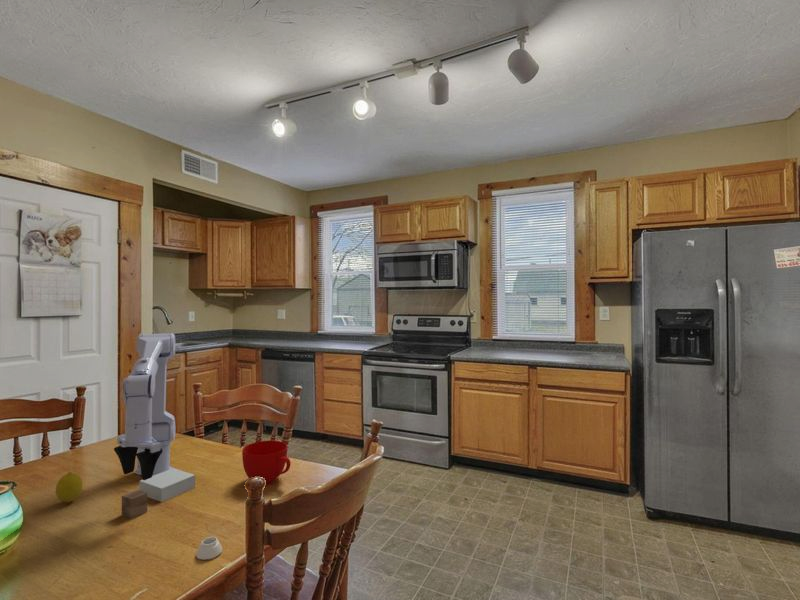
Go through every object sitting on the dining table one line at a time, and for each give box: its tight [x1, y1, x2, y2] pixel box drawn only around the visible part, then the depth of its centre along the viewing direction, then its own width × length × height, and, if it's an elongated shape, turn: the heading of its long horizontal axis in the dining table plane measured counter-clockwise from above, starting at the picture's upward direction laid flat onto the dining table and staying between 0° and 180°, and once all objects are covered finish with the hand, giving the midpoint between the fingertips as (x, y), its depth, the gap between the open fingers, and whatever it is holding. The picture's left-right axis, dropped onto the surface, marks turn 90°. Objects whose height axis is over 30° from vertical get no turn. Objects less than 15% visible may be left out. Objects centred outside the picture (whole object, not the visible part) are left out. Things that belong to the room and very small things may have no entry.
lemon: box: [55, 471, 83, 504], centre depth 110 cm, size 6×6×8 cm
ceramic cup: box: [241, 440, 292, 486], centre depth 124 cm, size 13×17×10 cm
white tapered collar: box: [195, 536, 223, 560], centre depth 88 cm, size 5×3×5 cm
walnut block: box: [121, 488, 148, 520], centre depth 105 cm, size 4×4×5 cm
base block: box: [138, 467, 196, 503], centre depth 117 cm, size 10×10×4 cm
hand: (137, 475), depth 105 cm, fingers open, 7 cm apart
